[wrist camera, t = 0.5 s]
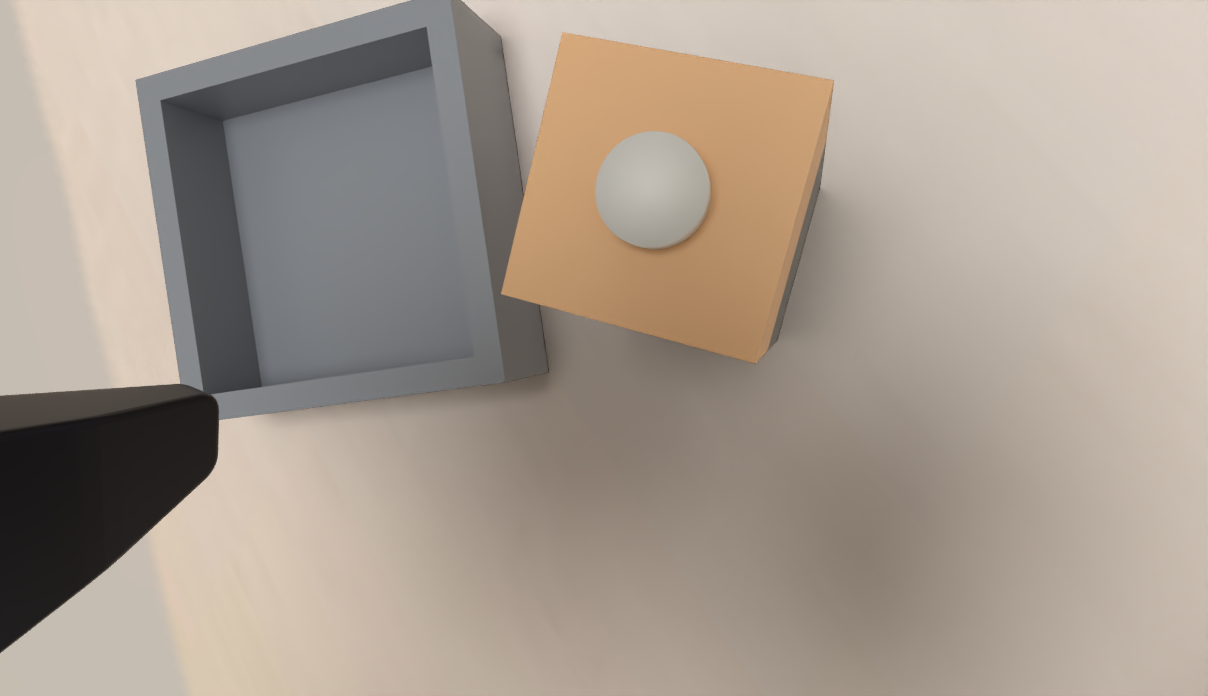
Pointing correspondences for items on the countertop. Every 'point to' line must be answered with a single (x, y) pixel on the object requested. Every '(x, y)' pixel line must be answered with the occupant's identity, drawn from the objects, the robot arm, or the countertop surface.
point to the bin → (342, 213)
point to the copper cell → (671, 194)
